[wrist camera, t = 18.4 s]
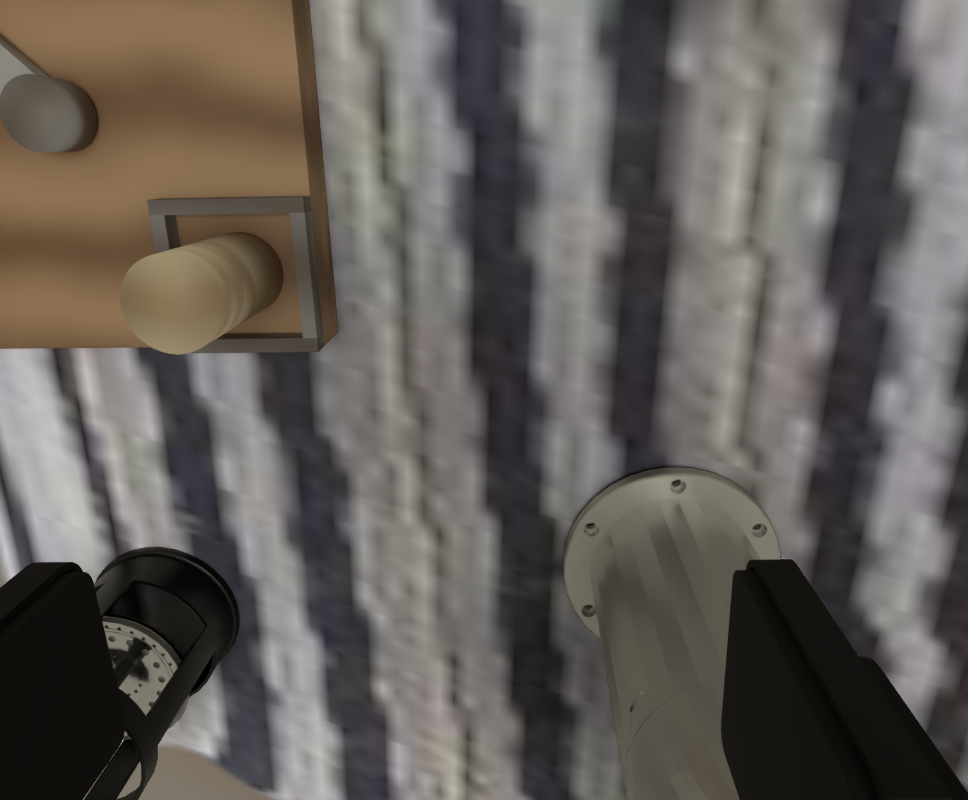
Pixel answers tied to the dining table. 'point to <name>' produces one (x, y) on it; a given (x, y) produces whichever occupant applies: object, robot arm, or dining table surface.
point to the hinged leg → (42, 106)
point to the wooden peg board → (166, 165)
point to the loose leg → (200, 290)
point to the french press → (158, 655)
